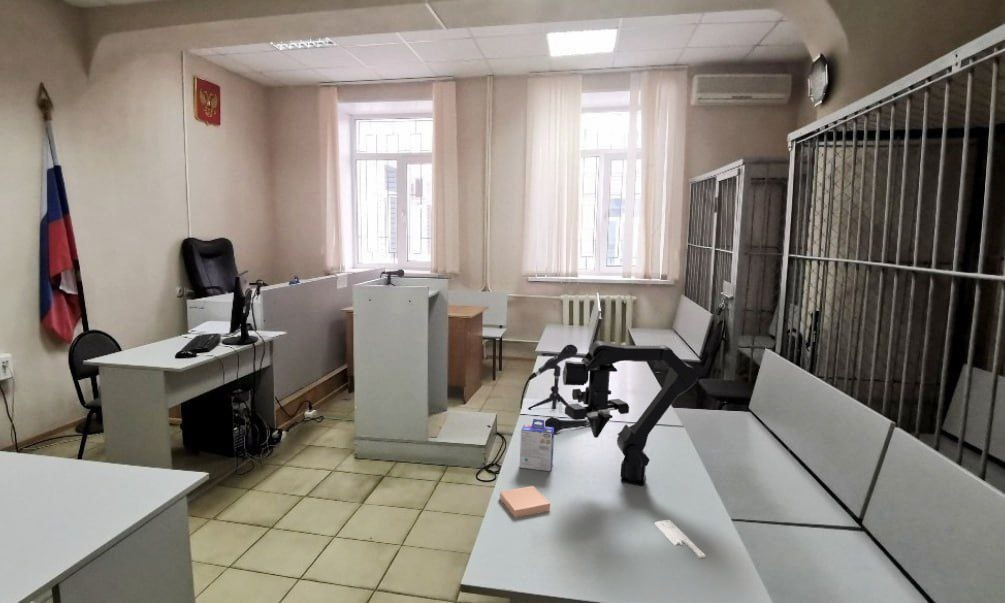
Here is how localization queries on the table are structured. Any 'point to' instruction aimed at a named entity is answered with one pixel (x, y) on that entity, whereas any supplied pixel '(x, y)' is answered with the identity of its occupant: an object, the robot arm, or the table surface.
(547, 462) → the ink cartridge box
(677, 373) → the robot arm
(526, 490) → the tile
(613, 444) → the table surface
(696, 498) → the table surface
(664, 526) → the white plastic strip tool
